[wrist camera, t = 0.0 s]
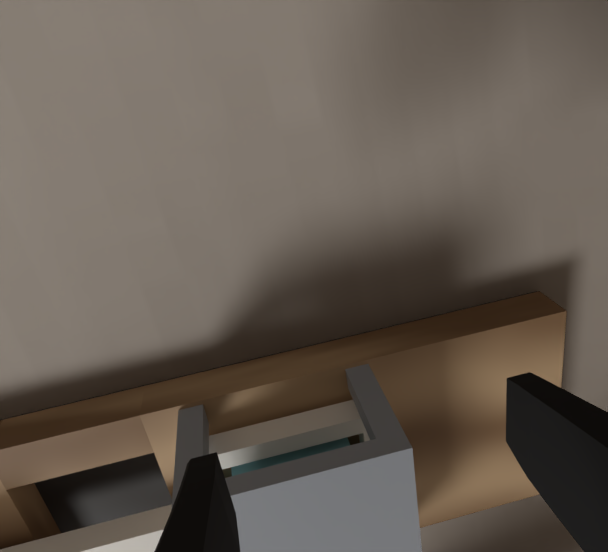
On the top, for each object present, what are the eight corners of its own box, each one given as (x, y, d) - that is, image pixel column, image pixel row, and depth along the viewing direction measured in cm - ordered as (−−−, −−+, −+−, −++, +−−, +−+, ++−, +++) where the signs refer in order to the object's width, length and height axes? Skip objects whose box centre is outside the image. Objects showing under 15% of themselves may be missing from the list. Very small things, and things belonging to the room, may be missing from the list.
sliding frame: (387, 520, 25) (414, 588, 22) (-3, 628, 23) (-35, 719, 20) (371, 394, 22) (400, 453, 18) (-87, 510, 20) (-141, 597, 17)
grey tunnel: (390, 533, 26) (429, 635, 21) (235, 576, 25) (242, 692, 21) (368, 363, 21) (412, 448, 17) (178, 410, 21) (171, 511, 16)
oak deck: (531, 462, 29) (553, 490, 27) (21, 602, 26) (8, 643, 24) (539, 291, 24) (566, 311, 22) (-84, 440, 21) (-110, 476, 19)
